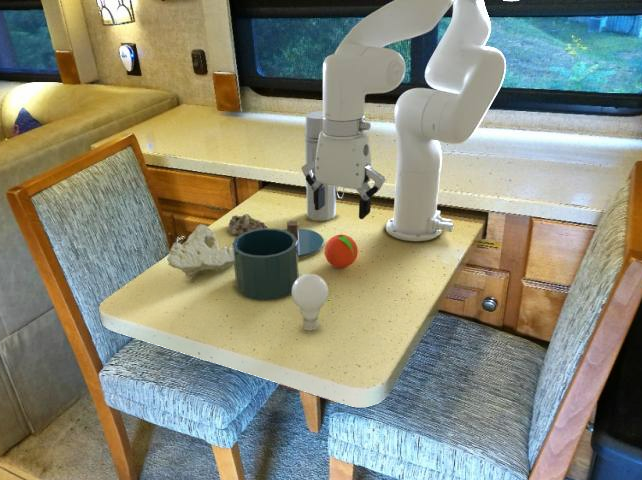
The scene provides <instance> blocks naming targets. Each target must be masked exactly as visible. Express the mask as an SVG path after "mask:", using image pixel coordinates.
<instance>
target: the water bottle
mask: <svg viewBox="0 0 642 480" xmlns="http://www.w3.org/2000/svg"><path fill="white" fill-rule="evenodd" d="M321 131H323V110H317V111H314V110H313V111H311V112H308V113H307V114H306V116H305V128H304V137H305V138H304V145H305V151H304V152H305V164H308V163H310V162H312V161H315V160H316V152H317V145H318V140H319V135H320V132H321ZM312 174H314V175H315V177H316V174H315V168H313V169H312ZM305 186H306V189H305V191H306V192H305V193H306V215H307V217H308V218H309V219H311V220H312V221H315V222H327V221H330V220H332V219H334V218H335V216H336V214H337V198H338V199H343V198H344V195H345V188H343V190H342V194H341V195H342V196H339V193H338V189H339V187H337V186H332V185H326V184H323V187H325V206H323V207H322V208H321V209H319V210H315V204H314V191H312V190H311V186H310V185H309V183H308V182H307V181H306V180H305Z"/></svg>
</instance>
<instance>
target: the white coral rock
mask: <svg viewBox="0 0 642 480" xmlns="http://www.w3.org/2000/svg"><path fill="white" fill-rule="evenodd" d="M167 265H168V266H169V267H172V268H174V269H178V270H180V271H181V272H182V273H184V274H185V277H187V279H188V280H189V281H191V280H193V278H194V277H195V274H196V273H200V272H201V271H203V270H212V271H221V270H223V269H226V268H228V267H231V266H234V260H233V250H232V247H229V246H228V247H227V246H222V247H221V248H219V247H218V240H217V236H216V234H215V232H214V231H213V230H211V229H210V227H209V226H208V225H205V224H201V223H200V224H198V225H197V226H196V228H195V229H194V231H193V232H192V233H191V234H189V236H188V238H187V239H186V241H184V242H183V243H180V242H179V238H176V242H173V244H172V246H171V248H170V250H169V253H168V257H167Z"/></svg>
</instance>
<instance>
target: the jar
mask: <svg viewBox="0 0 642 480" xmlns="http://www.w3.org/2000/svg"><path fill="white" fill-rule="evenodd" d="M231 249H232V250H233V260H234V264H233V271H234V279H235V285H236V289H237V291H238V292H239V293H240V295H242V296H243V297H246V298H248V299H251V300H256V301H274V300H279V299H282V298H286V297H288V296H289V295H292V293H291V291H292V286H293V284H294V282H295V281H296V279H297V278H299V277H300V275H299V271H300V270H299V258H298V242H297V239H296V237H295V235H294V234H292V233H290V232H288V231H286V230H283V229H281V228H276V227H275V228H274V227H267V228H262V229H255V230H250V231H248V232H245V233H242V234H240V235H237V236H236V237H235V238H234V239H233V241H232V243H231Z"/></svg>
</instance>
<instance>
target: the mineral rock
mask: <svg viewBox="0 0 642 480" xmlns="http://www.w3.org/2000/svg"><path fill="white" fill-rule="evenodd" d="M262 228H268V226H267V225H266V223H265V222H263V221H261V220H259V219H256V218H252V217H251V215H250V214H249V213H244V214H242V215H232V217H231V219H229V223H228V230H229V232H230V233H231V235H236V236H239V235H240V234H242V233H245V232H248V231H250V230H255V229H262Z"/></svg>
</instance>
